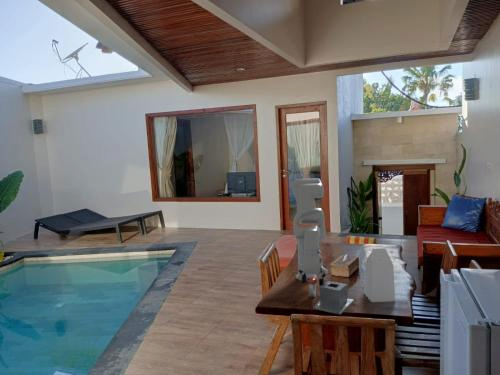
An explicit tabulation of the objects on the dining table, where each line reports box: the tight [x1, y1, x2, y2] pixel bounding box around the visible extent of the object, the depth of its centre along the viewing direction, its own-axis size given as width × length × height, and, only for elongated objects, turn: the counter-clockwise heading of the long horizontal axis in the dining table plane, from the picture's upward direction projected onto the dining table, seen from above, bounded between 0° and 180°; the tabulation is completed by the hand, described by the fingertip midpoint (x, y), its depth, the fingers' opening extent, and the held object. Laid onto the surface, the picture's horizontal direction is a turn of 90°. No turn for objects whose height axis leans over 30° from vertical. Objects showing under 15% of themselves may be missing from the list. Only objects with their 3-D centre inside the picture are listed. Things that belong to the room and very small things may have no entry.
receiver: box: [312, 280, 355, 316], centre depth 194 cm, size 18×14×10 cm
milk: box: [363, 247, 396, 303], centre depth 201 cm, size 12×12×26 cm
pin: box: [306, 277, 319, 298], centre depth 207 cm, size 6×6×10 cm
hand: (312, 284), depth 206 cm, fingers open, 9 cm apart
